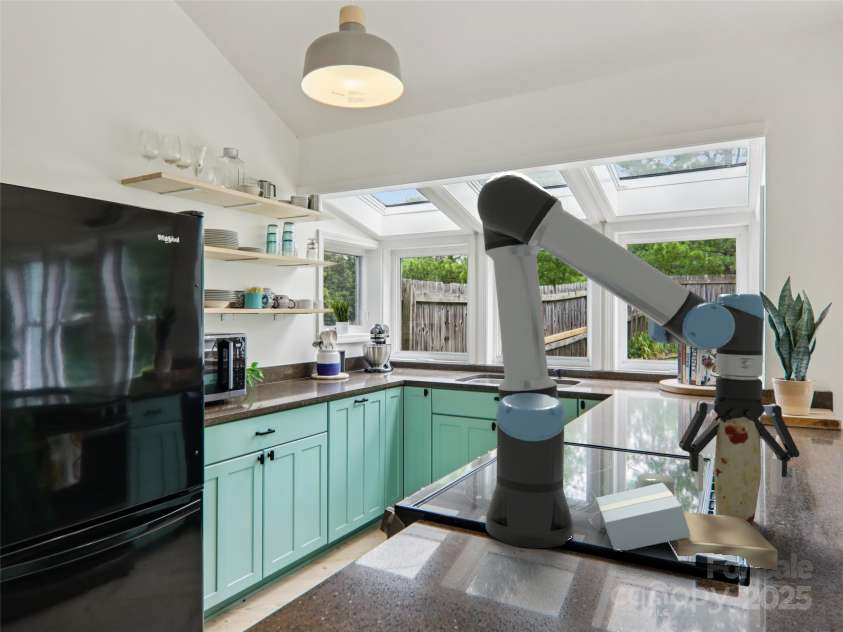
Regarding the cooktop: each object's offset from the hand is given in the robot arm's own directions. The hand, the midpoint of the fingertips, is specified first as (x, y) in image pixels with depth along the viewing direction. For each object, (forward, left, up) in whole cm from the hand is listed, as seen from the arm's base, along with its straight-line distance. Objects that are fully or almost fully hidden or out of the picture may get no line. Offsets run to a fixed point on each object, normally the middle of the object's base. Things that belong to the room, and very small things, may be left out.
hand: (736, 491), depth 103 cm
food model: (0, 0, -6) cm, 6 cm away
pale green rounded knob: (-14, 0, -6) cm, 15 cm away
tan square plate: (-8, -13, -6) cm, 16 cm away
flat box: (-19, -13, -4) cm, 23 cm away
